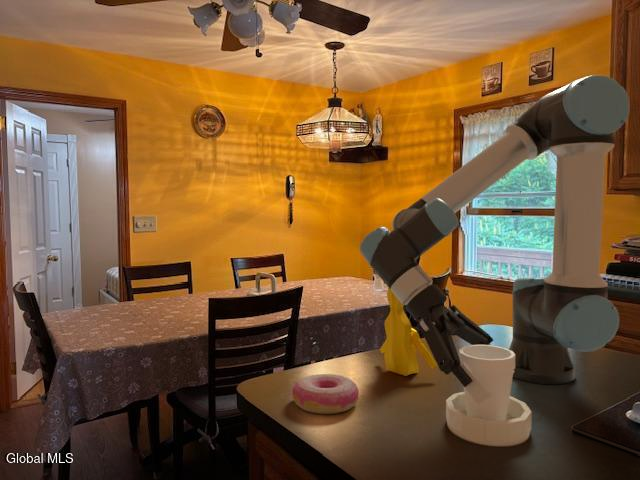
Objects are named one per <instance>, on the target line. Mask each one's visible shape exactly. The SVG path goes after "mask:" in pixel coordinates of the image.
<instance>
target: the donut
mask: <svg viewBox="0 0 640 480" xmlns="http://www.w3.org/2000/svg"><path fill="white" fill-rule="evenodd" d="M291 391H292V399H293V401H294V402H295V405H297V407H299V408H301V409H302V410H303V411H305V412H308V413H312V414H319V415H320V414H321V415H327V414H328V415H330V414H331V415H332V414H340V413H344V412H346V411H348V410H351V408H353V407H354V406H355V405H356V404H357V402H358V400H359V393H360V392H359V388H358V386H357V384H356V382H354V381H353V380H352V379H351V378H349V377H346V376H344V375H340V374H334V373H318V374H314V375H308V376H305V377H302V378H300V379H299V380H298V381H297V382H295V383H294V385H293V387H292V390H291Z"/></svg>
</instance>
